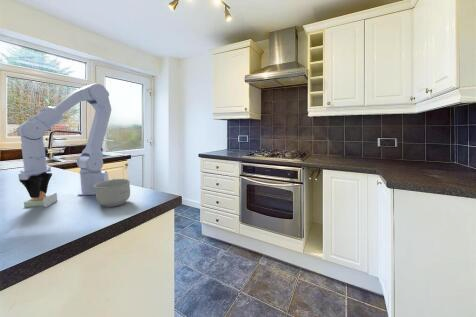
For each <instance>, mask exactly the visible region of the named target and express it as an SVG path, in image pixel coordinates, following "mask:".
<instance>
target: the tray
mask: <svg viewBox="0 0 476 317" xmlns="http://www.w3.org/2000/svg"><path fill="white" fill-rule="evenodd" d="M47 196H48V195H46V197H47ZM23 207H24V208H27V207H28V208H29V207H31V208H32V207H44V203H43V200H42V201H34V200H33V199H32V198H31V197H30V198H29V199H27V200H26V201H24V202H23Z"/></svg>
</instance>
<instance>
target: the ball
mask: <svg viewBox="0 0 476 317" xmlns="http://www.w3.org/2000/svg"><path fill="white" fill-rule="evenodd" d="M46 194H47V193H46ZM46 194H45V193H44V192H42V191H40V196H39V197H38V198H32V199H33V200H34V201H42V200H43V198H45V197H46V196H47V195H46Z"/></svg>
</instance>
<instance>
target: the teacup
mask: <svg viewBox="0 0 476 317" xmlns="http://www.w3.org/2000/svg"><path fill="white" fill-rule="evenodd" d="M130 183H131V182H130V179H128V178H127V179H126V178H111V179H109V180H108V181H103V182H100V183H97V184H95V185H94V188H95V193H96V194H95V198H96V201H97V202H98V204H99V205H101V206H104V207H106V208H107V207H108V208H111V207H112V208H113V207H117V206H120V205H124V204H125V203H126V202H127V201H128V200H129V198H130V197H131V186H130Z"/></svg>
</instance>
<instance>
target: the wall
mask: <svg viewBox="0 0 476 317" xmlns="http://www.w3.org/2000/svg"><path fill="white" fill-rule="evenodd" d="M46 196H47V197H45V198H43V203H44V206H43V208H47V207H49V206H50V205H52V204H54V203H56V202H57V201H58V194H57V192H52V193H50V194H49V195H48V194H47V195H46Z"/></svg>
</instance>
